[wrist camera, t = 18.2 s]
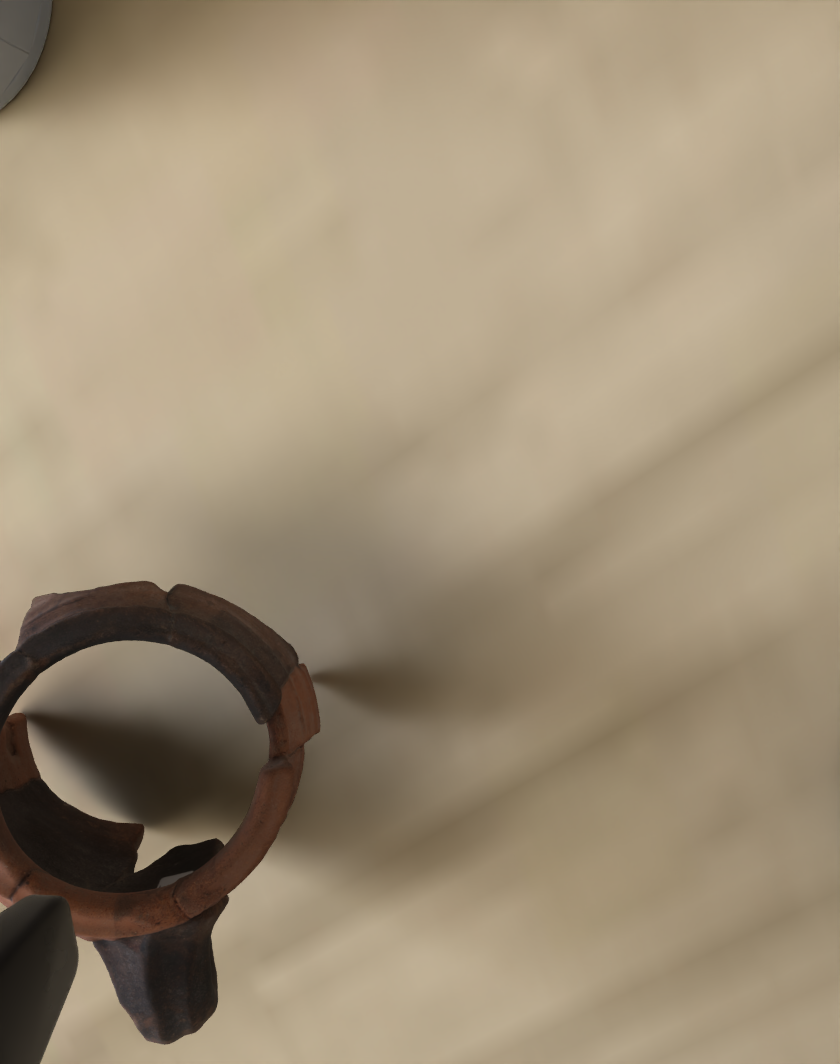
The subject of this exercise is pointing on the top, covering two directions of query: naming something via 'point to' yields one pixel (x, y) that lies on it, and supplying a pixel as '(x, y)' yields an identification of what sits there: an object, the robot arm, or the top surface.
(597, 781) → the top surface
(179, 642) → the brown looped piece
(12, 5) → the tumbler
